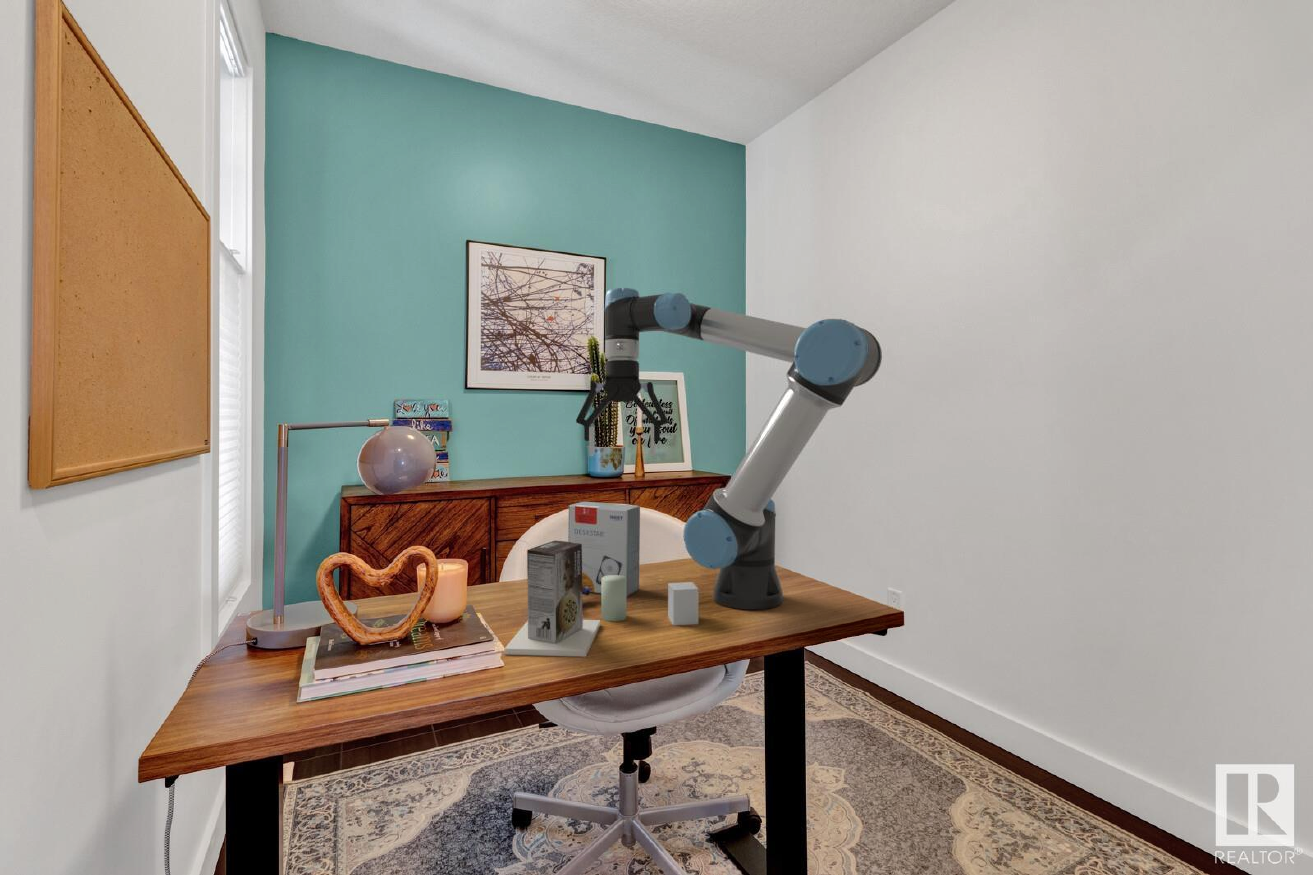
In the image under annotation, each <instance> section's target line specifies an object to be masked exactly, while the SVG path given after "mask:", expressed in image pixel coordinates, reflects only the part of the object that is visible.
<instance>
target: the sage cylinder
mask: <svg viewBox="0 0 1313 875" xmlns="http://www.w3.org/2000/svg"><path fill="white" fill-rule="evenodd" d="M600 594H601V598H600V599H601V602H600V603H601V606H600V607H601V611H600V612H601V620H603V621H606V622H620V621H624V620H625V619H627V597H626V577H625V576H621V575H608V576H604V577H602V578H601V593H600Z"/></svg>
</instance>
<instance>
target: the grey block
mask: <svg viewBox="0 0 1313 875" xmlns="http://www.w3.org/2000/svg"><path fill="white" fill-rule="evenodd" d="M667 592H668V593H667V618H668V620H669V622H670V623H671V624H672V626H688V625H699V593H700V592H699V587H698V586H697V585H695V583H694V582H693V581H688V582H687V581H686V582H685V581H684V582H669V583H667Z"/></svg>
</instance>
